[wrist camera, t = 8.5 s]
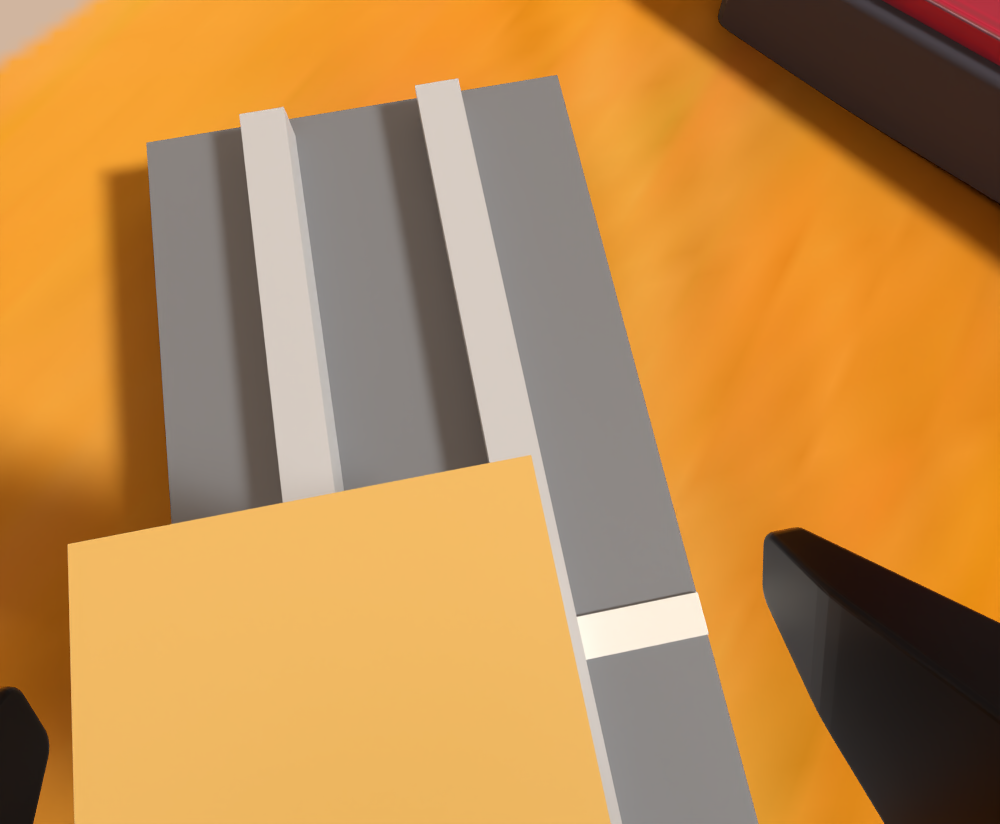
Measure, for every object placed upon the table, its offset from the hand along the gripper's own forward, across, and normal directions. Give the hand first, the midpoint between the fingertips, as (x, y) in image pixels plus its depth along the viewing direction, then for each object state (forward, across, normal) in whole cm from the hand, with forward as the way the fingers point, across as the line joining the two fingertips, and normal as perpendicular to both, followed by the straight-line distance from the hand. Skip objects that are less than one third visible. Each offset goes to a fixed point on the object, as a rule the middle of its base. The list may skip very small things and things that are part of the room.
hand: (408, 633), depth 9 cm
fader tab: (+3, 0, +4) cm, 5 cm away
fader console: (+8, 0, +3) cm, 8 cm away
